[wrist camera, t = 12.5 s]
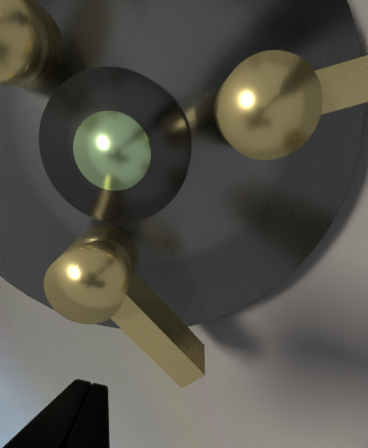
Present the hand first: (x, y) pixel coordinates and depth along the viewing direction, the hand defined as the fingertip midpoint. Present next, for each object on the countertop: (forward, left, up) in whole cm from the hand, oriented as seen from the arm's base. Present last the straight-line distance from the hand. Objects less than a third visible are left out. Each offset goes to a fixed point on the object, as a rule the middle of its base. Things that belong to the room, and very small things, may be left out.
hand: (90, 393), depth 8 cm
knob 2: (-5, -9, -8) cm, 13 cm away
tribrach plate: (+2, -5, -10) cm, 11 cm away
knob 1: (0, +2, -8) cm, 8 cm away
